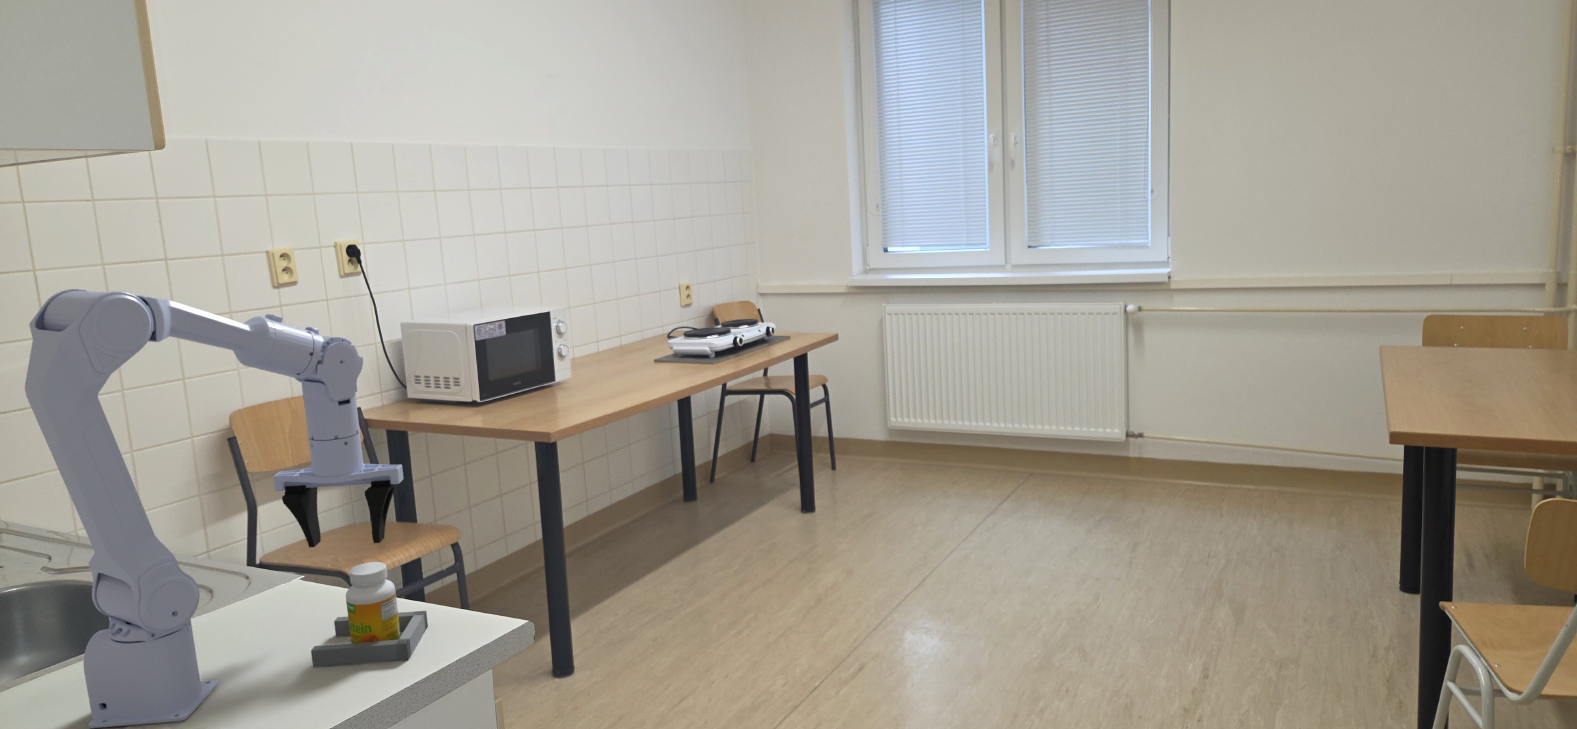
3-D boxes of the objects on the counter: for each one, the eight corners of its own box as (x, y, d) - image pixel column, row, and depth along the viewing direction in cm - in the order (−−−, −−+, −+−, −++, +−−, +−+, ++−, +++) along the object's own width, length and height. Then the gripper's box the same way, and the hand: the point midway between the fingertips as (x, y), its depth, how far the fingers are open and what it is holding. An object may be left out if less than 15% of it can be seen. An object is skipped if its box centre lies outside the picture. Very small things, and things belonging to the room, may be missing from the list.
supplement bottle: (341, 653, 119) (331, 574, 118) (375, 633, 124) (366, 557, 123) (378, 659, 118) (369, 579, 116) (411, 639, 123) (402, 562, 121)
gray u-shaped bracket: (313, 667, 116) (310, 650, 116) (339, 632, 125) (337, 617, 125) (408, 659, 117) (406, 643, 117) (427, 626, 126) (426, 610, 126)
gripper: (405, 423, 128) (416, 527, 131) (284, 430, 127) (298, 535, 130) (388, 437, 121) (400, 547, 124) (261, 444, 120) (275, 555, 123)
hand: (347, 542), depth 126 cm, fingers open, 7 cm apart
